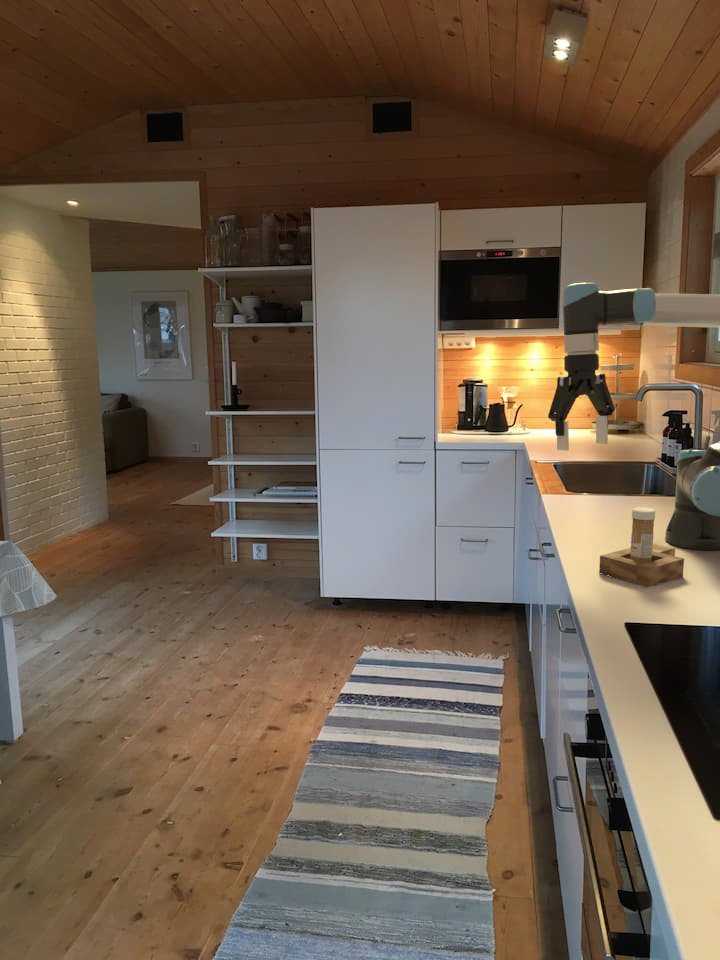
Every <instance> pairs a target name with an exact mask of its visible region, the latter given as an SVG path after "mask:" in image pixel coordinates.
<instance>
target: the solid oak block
mask: <svg viewBox="0 0 720 960" xmlns="http://www.w3.org/2000/svg"><path fill="white" fill-rule="evenodd" d="M652 551H655V552H659V553H663V554H667V555H671V556H675V557H676V548H675V547H672V546H668V545H663V544H661V543H660V544H659V543H655V542H653V549H652Z"/></svg>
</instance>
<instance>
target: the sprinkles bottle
mask: <svg viewBox="0 0 720 960" xmlns="http://www.w3.org/2000/svg"><path fill="white" fill-rule="evenodd" d="M631 518H632V526H631V527H632V528H631V537H630V539H631V540H630V548H631V551H630V555H631V556H630V559H631V560H635V561H639V562H643V563H648V562H651V558H652V549H653V543H654V527H655V524H654V523H655V519H656V509H654V508H651V507H645V506H644V507H643V506H642V507H641V506H640V507H638V506H637V507H634V508H632V510H631Z"/></svg>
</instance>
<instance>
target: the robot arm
mask: <svg viewBox="0 0 720 960" xmlns="http://www.w3.org/2000/svg"><path fill="white" fill-rule="evenodd" d="M562 304H563V305H562V309H563V310H562V314H563V315H562V317H563V335H564V336H563V339H564V340H563V342H564V353H565V354H566V355H565V356H564V357H563V358H564V359H563V360H564V371H565V372H566V373H567V376H558V377H557V378H556V389H555V392H554V395H553V399H552V402H551V404H550V409H549V412H548V416H547V417H548V419H549V420H551V421H552V422H555V423H554V425H555V427H554V428H555V435H556V450H557V451H569V450H570V445H569V444H570V443H569V440H570V439H569V438H570V437H569V421H568V420H567V417H568V416H569V414H570V411H571V409H572V407H573V406H574V404H575V402H576V400H577V398H579V397H580V396H584V395H585V396H587V398H588V399H589V401H590V402H591V404H592V406H593V407H594V409H595V411H596V413H597V414H598V415H596V416H595V438H596V439H595V440H596V441H595V442H596V443H595V444H602V445H608V443H609V441H608V440H609V435H608V434H609V433H608V432H609V430H608V429H609V416H612V415H613V414H614V412H615V411H616V407H615V404H614V402H613V400H612V396H611V394H610V391H609V387H608V384H607V380H606V373H602V372H601V373H596V371H599V369H600V364H599V363H600V357H599V354H598V353H597V352H598V351H599V350H600V345H599V343H600V342H599V340H600V339H599V337H600V335H599V326H616V327H618V326H622V327H623V326H650V327H651V326H652V327H654V326H655V327H682V328H683V327H685V328H687V327H688V328H695V327H696V328H717V329H720V294H716V293H715V294H714V293H713V294H711V293H705V294H704V293H703V294H702V293H701V294H700V293H664V292H662V293H659V292H657V293H656V292H655V290H654V289H653V288H651V287H646V288H643V287H636V288H628V289H627V288H626V289H616V290H607V291H605V290H603V291H602V290H600V289H599V286H598V283H596V282H580V283H572V284H569V285H567V286H565V287H564V289H563V301H562ZM676 466H677V467H676V481H675V482H676V483H675V484H676V485H675V495H674V496H675V498H674V499H675V500H674V501H675V502H674V509H673V512H672V515H671V517H670V520H669V522H668V525H667V527H666V529H665V537H664V540H665V542H667V543H668V544H671V545H673V546H676V547H680V548H687V549H692V550H693V549H694V550H703V551H707V550H708V551H714V550H715V551H716V550H720V441H718V442H716V443H712V444H710V445H709V444H708V446H707V448H706V449H682V450H680V451H679V452H678V455H677V460H676Z"/></svg>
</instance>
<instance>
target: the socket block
mask: <svg viewBox="0 0 720 960" xmlns="http://www.w3.org/2000/svg"><path fill="white" fill-rule="evenodd" d="M630 551H631V547H629V548H624V549H621V550H616V551H613V552H609V553H608V552H607V553H605V554H600V555H599V570H598V574H599V573H602V574H605V575H604V576H606V575H609V576H611V577H610V578H613V577H614V578H613V579H616V578H617V580H619V579H620V581H624V582H626V583H630V584H633V585H637V586H641V587H643V586H644V588H647V587H649V588H651V586H652V587H654V586H659V585H661V583H662V584H664V583H668V582H671V581H674V580H675V581H676V580H678V579H681V578H684V567H685V566H684V563H685V558H683V557H680V556H679V557H678V556H676V555H675V556H671V555H667V554H663V553H659V552H655V551H652V558H651V562H648V563H643V562H639V561H635V560H631V559H630V556H631V555H630ZM602 574H601V575H602ZM609 576H608V577H609ZM658 584H659V585H658Z"/></svg>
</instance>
